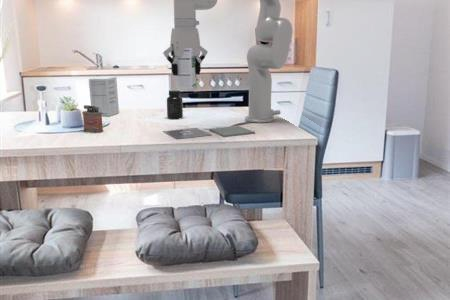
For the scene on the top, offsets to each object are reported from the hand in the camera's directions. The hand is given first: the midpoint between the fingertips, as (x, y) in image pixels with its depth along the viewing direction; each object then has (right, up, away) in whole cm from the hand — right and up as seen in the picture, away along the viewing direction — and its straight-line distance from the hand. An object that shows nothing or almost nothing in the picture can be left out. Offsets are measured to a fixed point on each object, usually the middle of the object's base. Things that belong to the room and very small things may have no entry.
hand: (186, 74), depth 163 cm
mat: (+16, -20, +8) cm, 27 cm away
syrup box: (0, -5, +1) cm, 5 cm away
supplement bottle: (-8, -13, +36) cm, 40 cm away
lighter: (-36, -20, +9) cm, 42 cm away
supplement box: (-41, -11, +45) cm, 62 cm away
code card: (0, -21, +5) cm, 22 cm away
